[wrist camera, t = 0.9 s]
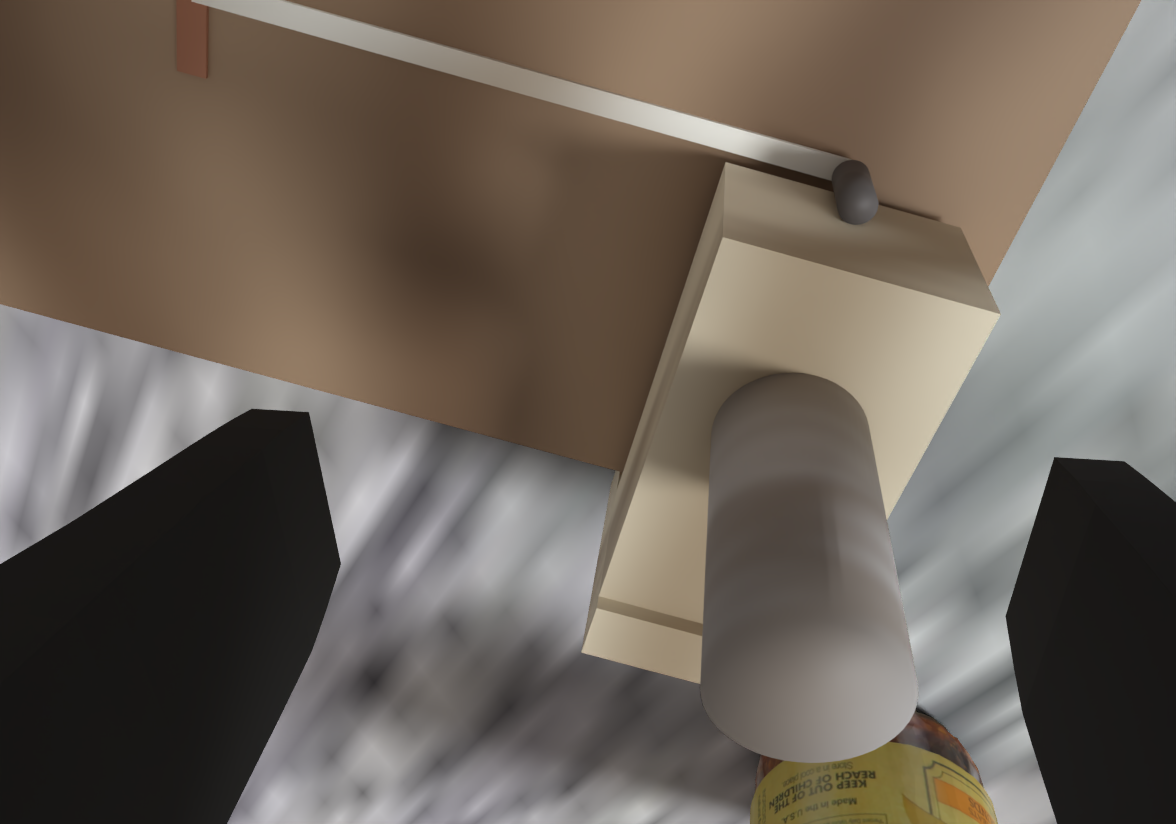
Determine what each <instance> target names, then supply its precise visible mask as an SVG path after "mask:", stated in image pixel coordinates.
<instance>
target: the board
mask: <svg viewBox="0 0 1176 824" xmlns="http://www.w3.org/2000/svg"><path fill="white" fill-rule="evenodd" d="M1140 2H1141V0H0V304H2V305H6V306H9V307H13V308H17V309H21V310H24V311H28V312H32V313H35V314H39V315H43V316H46V317H50V318H54V319H58V320H61V321H65V322H69V323H72V324H76V325H80V326H83V327H87V328H91V329H94V330H98V331H102V332H106V333H109V334H113V335H117V336H120V337H124V338H128V339H131V340H135V341H139V342H143V343H146V344H150V345H154V346H157V347H161V348H165V349H168V350H172V351H176V352H179V353H183V354H187V355H191V356H194V357H198V358H202V359H205V360H209V361H213V362H216V363H220V364H224V365H228V366H231V367H235V368H239V369H242V370H246V371H250V372H253V373H257V374H261V375H264V376H268V377H272V378H276V379H279V380H283V381H287V382H290V383H294V384H298V385H301V386H305V387H309V388H313V389H316V390H320V391H324V392H327V393H331V394H335V395H338V396H342V397H346V398H350V399H353V400H357V401H361V402H364V403H368V404H372V405H375V406H379V407H383V408H386V409H390V410H394V411H398V412H401V413H405V414H409V415H412V416H416V417H420V418H423V419H427V420H431V421H435V422H438V423H442V424H446V425H449V426H453V427H457V428H460V429H464V430H468V431H471V432H475V433H479V434H483V435H486V436H490V437H494V438H497V439H501V440H505V441H508V442H512V443H516V444H520V445H523V446H527V447H531V448H534V449H538V450H542V451H545V452H549V453H553V454H557V455H560V456H564V457H568V458H571V459H575V460H579V461H582V462H586V463H590V464H593V465H597V466H601V467H605V468H608V469H612V470H616V471H619V472H623V470H624V467H625V464H626V461H627V458H628V455H629V452H630V449H631V446H632V443H633V440H634V437H635V434H636V431H637V428H638V425H639V422H640V419H641V416H642V413H643V410H644V407H645V404H646V401H647V398H648V395H649V392H650V389H651V386H652V383H653V380H654V377H655V374H656V371H657V368H658V365H659V362H660V359H661V356H662V353H663V350H664V347H665V344H666V340H667V337H668V334H669V331H670V328H671V325H672V322H673V319H674V316H675V313H676V310H677V307H678V304H679V301H680V298H681V295H682V292H683V289H684V286H685V283H686V280H687V277H688V274H689V271H690V268H691V265H692V262H693V259H694V256H695V253H696V250H697V247H698V244H699V241H700V238H701V235H702V232H703V229H704V226H705V223H706V220H707V217H708V214H709V211H710V208H711V205H712V202H713V199H714V196H715V193H716V189H717V186H718V183H719V180H720V177H721V174H722V171H723V168H724V165H725V162H727V163H731V164H735V165H738V166H742V167H745V168H749V169H752V170H756V171H760V172H763V173H767V174H770V175H774V176H777V177H781V178H785V179H788V180H792V181H795V182H799V183H802V184H806V185H810V186H813V187H817V188H820V189H824V190H828V191H831V192H834V191H833V186H832V174H833V171H834V170H835V168H836V167H837V166H838V165H839V164H841V163H842V162H844V161H847V160H858V161H860V162H862V163H864V164H865V165H866V166H867V168H868V170H869V172H870V176H871V179H872V182H873V185H874V189H875V192H876V195H877V199H878V205H881V206H885V207H888V208H892V209H895V210H899V211H903V212H906V213H910V214H913V215H917V216H920V217H924V218H928V219H931V220H935V221H938V222H942V223H945V224H949V225H953V226H956V227H960V228H961V229H962V231H963V234H964V236H965V238H966V240H967V242H968V244H969V247H970V249H971V251H972V253H973V255H974V257H975V260H976V262H977V264H978V266H979V268H980V270H981V273H982V275H983V277H984V279H985V281H986V283H987V286H989V284H990V282H991V281H992V279H993V277H994V275H995V273H996V271H997V269H998V267H999V266H1000V264H1001V262H1002V260H1003V258H1004V256H1005V254H1006V252H1007V251H1008V249H1009V247H1010V245H1011V243H1012V241H1013V239H1014V237H1015V236H1016V234H1017V232H1018V230H1019V228H1020V226H1021V224H1022V223H1023V221H1024V219H1025V217H1026V215H1027V213H1028V211H1029V209H1030V208H1031V206H1032V204H1033V202H1034V200H1035V198H1036V196H1037V194H1038V193H1039V191H1040V189H1041V187H1042V185H1043V183H1044V181H1045V180H1046V178H1047V176H1048V174H1049V172H1050V170H1051V168H1052V166H1053V165H1054V163H1055V161H1056V159H1057V157H1058V155H1059V153H1060V151H1061V150H1062V148H1063V146H1064V144H1065V142H1066V140H1067V138H1068V136H1069V135H1070V133H1071V131H1072V129H1073V127H1074V125H1075V123H1076V122H1077V120H1078V118H1079V116H1080V114H1081V112H1082V110H1083V108H1084V107H1085V105H1086V103H1087V101H1088V99H1089V97H1090V95H1091V93H1092V92H1093V90H1094V88H1095V86H1096V84H1097V82H1098V80H1099V78H1100V77H1101V75H1102V73H1103V71H1104V69H1105V67H1106V65H1107V64H1108V62H1109V60H1110V58H1111V56H1112V54H1113V52H1114V50H1115V49H1116V47H1117V45H1118V43H1119V41H1120V39H1121V37H1122V35H1123V34H1124V32H1125V30H1126V28H1127V26H1128V24H1129V22H1130V21H1131V19H1132V17H1133V15H1134V13H1135V11H1136V9H1137V7H1138V6H1139V4H1140Z"/></svg>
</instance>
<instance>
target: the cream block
mask: <svg viewBox="0 0 1176 824" xmlns="http://www.w3.org/2000/svg"><path fill="white" fill-rule="evenodd" d="M832 186H833V191H834V192H831V191H828V190H824V189H820V188H817V187H813V186H810V185H806V184H802V183H799V182H795V181H792V180H788V179H785V178H781V177H777V176H774V175H770V174H767V173H763V172H760V171H756V170H752V169H749V168H745V167H742V166H738V165H735V164H731V163H727V162H725V165H724V168H723V171H722V174H721V177H720V180H719V183H718V186H717V189H716V193H715V196H714V199H713V202H712V205H711V208H710V211H709V214H708V217H707V220H706V223H705V226H704V229H703V232H702V235H701V238H700V241H699V244H698V247H697V250H696V253H695V256H694V259H693V262H692V265H691V268H690V271H689V274H688V277H687V280H686V283H685V286H684V289H683V292H682V295H681V298H680V301H679V304H678V307H677V310H676V313H675V316H674V319H673V322H672V325H671V328H670V331H669V334H668V337H667V340H666V344H665V347H664V350H663V353H662V356H661V359H660V362H659V365H658V368H657V371H656V374H655V377H654V380H653V383H652V386H651V389H650V392H649V395H648V398H647V401H646V404H645V407H644V410H643V413H642V416H641V419H640V422H639V425H638V428H637V431H636V434H635V437H634V440H633V443H632V446H631V449H630V452H629V455H628V458H627V461H626V464H625V467H624V470H623V472H619V471H615V474H614V478H613V481H612V484H611V488H610V494H609V499H608V505H607V511H606V516H605V522H604V528H603V533H602V539H601V545H600V550H599V556H598V561H597V567H596V573H595V578H594V584H593V590H592V595H591V601H590V606H589V612H588V618H587V623H586V629H585V635H584V640H583V646H582V651H581V653H585V654H589V655H593V656H596V657H600V658H604V659H608V660H611V661H615V662H619V663H623V664H627V665H630V666H634V667H638V668H642V669H645V670H649V671H653V672H657V673H660V674H664V675H668V676H672V677H676V678H679V679H683V680H687V681H691V682H694V683H698V684H700V695H701V699H702V704H703V706H704V708H705V711H706V713H707V715H708V716H709V718H710V719H711V721H712V722H713V723H714V724H715V726H716V727H717V728H718V729H719V730H720V731H721V732H722V733H724V734H725V735H726V736H727V737H728V738H730V739H731V740H733V741H734V742H736V743H737V744H739V745H741V746H743V747H745V748H746V749H749V750H751V751H753V752H756V753H758V754H761V755H764V756H767V757H771V758H775V759H780V760H784V761H792V762H802V763H825V762H833V761H840V760H845V759H850V758H853V757H857V756H860V755H863V754H866V753H868V752H871V751H873V750H875V749H877V748H879V747H881V746H883V745H884V744H886V743H887V742H889V741H890V740H892V739H893V738H895V737H896V736H897V735H898V734H899V733H900V732H901V731H902V730H903V729H904V728H905V726H906V725H907V724H908V723H909V721H910V720H911V718H912V716H913V714H914V712H915V709H916V706H917V703H918V695H919V692H918V682H917V677H916V672H915V666H914V661H913V656H912V650H911V645H910V640H909V635H908V629H907V624H906V619H905V614H904V608H903V603H902V598H901V592H900V587H899V582H898V577H897V571H896V566H895V561H894V556H893V550H892V545H891V540H890V534H889V529H888V524H887V519H888V517H889V515H890V514H891V512H892V510H893V508H894V506H895V505H896V503H897V501H898V499H899V497H900V496H901V494H902V492H903V490H904V488H905V487H906V485H907V483H908V481H909V479H910V477H911V476H912V474H913V472H914V470H915V468H916V467H917V465H918V463H919V461H920V459H921V458H922V456H923V454H924V452H925V450H926V449H927V447H928V445H929V443H930V441H931V440H932V438H933V436H934V434H935V432H936V430H937V429H938V427H939V425H940V423H941V421H942V420H943V418H944V416H945V414H946V412H947V411H948V409H949V407H950V405H951V403H952V402H953V400H954V398H955V396H956V394H957V393H958V391H959V389H960V387H961V385H962V383H963V382H964V380H965V378H966V376H967V374H968V373H969V371H970V369H971V367H972V365H973V364H974V362H975V360H976V358H977V356H978V355H979V353H980V351H981V349H982V347H983V346H984V344H985V342H986V340H987V338H988V336H989V335H990V333H991V331H992V329H993V327H994V326H995V324H996V322H997V320H998V318H999V317H1000V315H1001V314H1000V311H999V309H998V307H997V305H996V303H995V301H994V299H993V296H992V294H991V292H990V290H989V288H988V286H987V283H986V281H985V279H984V277H983V275H982V273H981V270H980V268H979V266H978V264H977V262H976V260H975V257H974V255H973V253H972V251H971V249H970V247H969V244H968V242H967V240H966V238H965V236H964V234H963V231H962V229H961V228H960V227H956V226H953V225H949V224H945V223H942V222H938V221H935V220H931V219H928V218H924V217H920V216H917V215H913V214H910V213H906V212H903V211H899V210H895V209H892V208H888V207H885V206H881V205H878V199H877V195H876V192H875V189H874V185H873V182H872V179H871V176H870V172H869V170H868V168H867V166H866V165H865V164H864V163H862V162H860V161H858V160H847V161H844V162H842V163H841V164H839V165H838V166H837V167H836V168H835V170H834V171H833V174H832Z"/></svg>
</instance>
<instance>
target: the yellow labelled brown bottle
mask: <svg viewBox="0 0 1176 824" xmlns="http://www.w3.org/2000/svg"><path fill="white" fill-rule="evenodd" d="M755 783H756V788H755V794H754V797H753V799H752V803H751V809H750V824H998V822H997V818H996V815H995V811H994V807H993V804H992V801H991V799H990V798H989V796H988V794H987V792H986V791H985V789H984V787H983V784H982V781H981V778H980V775H979V771H978V768H977V767H976V765H975V764H974V762H973V761H972V759H971V757H970V755H969V754H968V752H967V751H966V749H965V748H964V747H963V746H962V744H961V743H960V742H959V740H958V738H956V737H953V736H952V735H951V734H950V733H949V732H948V731H947V729H946V728H945V727H944V726H943V725H941V724H940V723H938V722H937V721H936V720H935V719H934V718H932V717H929V716H927V715H925V714H922V713H918V712H917V711H916V710H915V712H914V714H913V716H912V718H911V720H910V721H909V723H908V724H907V725H906V726H905V728H904V729H903V730H902V731H901V732H900V733H899V734H898V735H897V736H896V737H895V738H893V739H892V740H890V741H889V742H887V743H886V744H884V745H883V746H881V747H879V748H877V749H875V750H873V751H871V752H868V753H866V754H863V755H860V756H857V757H853V758H850V759H845V760H840V761H833V762H825V763H802V762H792V761H784V760H780V759H775V758H771V757H767V756H764V755H761V756H760V761H759V765H758V769H757V773H756V779H755Z"/></svg>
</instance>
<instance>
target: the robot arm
mask: <svg viewBox="0 0 1176 824" xmlns="http://www.w3.org/2000/svg"><path fill="white" fill-rule="evenodd" d="M340 565H341V562H340V558H339V553H338V548H337V543H336V539H335V534H334V529H333V524H332V520H331V515H330V510H329V505H328V501H327V496H326V491H325V487H324V482H323V477H322V472H321V468H320V463H319V458H318V453H317V449H316V444H315V439H314V434H313V430H312V425H311V420H310V416H309V412H295V411H279V410H262V409H251V410H249V411H247V412H245V413H243V414H242V415H240V416H238V417H236V418H234V419H232V420H231V421H229V422H227V423H226V424H224V425H222V426H221V427H219V428H217V429H216V430H214V431H213V432H211V433H209V434H208V435H206V436H205V437H203V438H201V439H200V440H198V441H197V442H195V443H194V444H192V445H190V446H189V447H187V448H186V449H184V450H183V451H181V452H180V453H178V454H177V455H175V456H173V457H172V458H170V459H169V460H167V461H166V462H164V463H163V464H161V465H160V466H158V467H157V468H155V469H153V470H152V471H150V472H149V473H147V474H146V475H144V476H143V477H141V478H139V479H138V480H136V481H135V482H133V483H132V484H130V485H129V486H127V487H125V488H124V489H122V490H121V491H119V492H118V493H116V494H115V495H113V496H111V497H110V498H108V499H107V500H105V501H104V502H102V503H100V504H99V505H97V506H96V507H94V508H93V509H91V510H90V511H88V512H86V513H85V514H83V515H82V516H80V517H79V518H77V519H75V520H74V521H72V522H71V523H69V524H67V525H66V526H64V527H62V528H61V529H59V530H57V531H56V532H54V533H52V534H51V535H49V536H47V537H45V538H44V539H42V540H40V541H39V542H37V543H35V544H34V545H32V546H30V547H29V548H27V549H25V550H24V551H22V552H20V553H18V554H17V555H15V556H13V557H12V558H10V559H8V560H7V561H5V562H3V563H2V564H0V824H227V822H228V820H229V818H230V816H231V814H232V812H233V810H234V808H235V806H236V804H237V802H238V800H239V798H240V796H241V794H242V792H243V790H244V788H245V786H246V784H247V782H248V780H249V778H250V776H251V774H252V772H253V770H254V768H255V766H256V764H257V762H258V760H259V758H260V756H261V754H262V752H263V750H264V748H265V746H266V744H267V742H268V740H269V738H270V736H271V734H272V732H273V730H274V728H275V726H276V724H277V722H278V720H279V718H280V716H281V714H282V712H283V710H284V708H285V705H286V703H287V701H288V699H289V697H290V695H291V693H292V691H293V689H294V687H295V685H296V683H297V681H298V679H299V677H300V675H301V673H302V670H303V668H304V666H305V664H306V662H307V660H308V658H309V656H310V653H311V651H312V649H313V646H314V643H315V640H316V638H317V635H318V632H319V629H320V626H321V623H322V621H323V618H324V615H325V612H326V609H327V606H328V603H329V600H330V596H331V593H332V590H333V587H334V584H335V581H336V578H337V574H338V571H339V568H340ZM1006 621H1007V628H1008V634H1009V640H1010V646H1011V652H1012V658H1013V664H1014V670H1015V676H1016V681H1017V686H1018V691H1019V697H1020V702H1021V707H1022V712H1023V716H1024V719H1025V723H1026V726H1027V729H1028V733H1029V736H1030V739H1031V742H1032V746H1033V749H1034V752H1035V755H1036V758H1037V761H1038V765H1039V768H1040V771H1041V774H1042V777H1043V780H1044V784H1045V787H1046V790H1047V793H1048V796H1049V799H1050V802H1051V806H1052V809H1053V812H1054V815H1055V818H1056V821H1057V824H1176V502H1175V501H1173V500H1172V499H1171V498H1170V497H1169V496H1167V495H1166V494H1165V493H1164V492H1163V491H1161V490H1160V489H1159V488H1158V487H1157V486H1155V485H1154V484H1153V483H1152V482H1150V481H1149V480H1148V479H1147V478H1145V477H1144V476H1143V475H1142V474H1140V473H1139V472H1138V471H1136V470H1135V469H1134V468H1132V467H1131V466H1130V465H1128V464H1127V463H1126V462H1124V461H1108V460H1091V459H1075V458H1058V457H1054V460H1053V464H1052V467H1051V470H1050V473H1049V477H1048V480H1047V483H1046V486H1045V490H1044V493H1043V496H1042V500H1041V503H1040V506H1039V509H1038V513H1037V516H1036V519H1035V522H1034V526H1033V529H1032V532H1031V535H1030V539H1029V542H1028V545H1027V548H1026V552H1025V555H1024V558H1023V561H1022V565H1021V568H1020V571H1019V574H1018V578H1017V581H1016V584H1015V588H1014V591H1013V594H1012V597H1011V601H1010V604H1009V607H1008V610H1007V614H1006Z"/></svg>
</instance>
